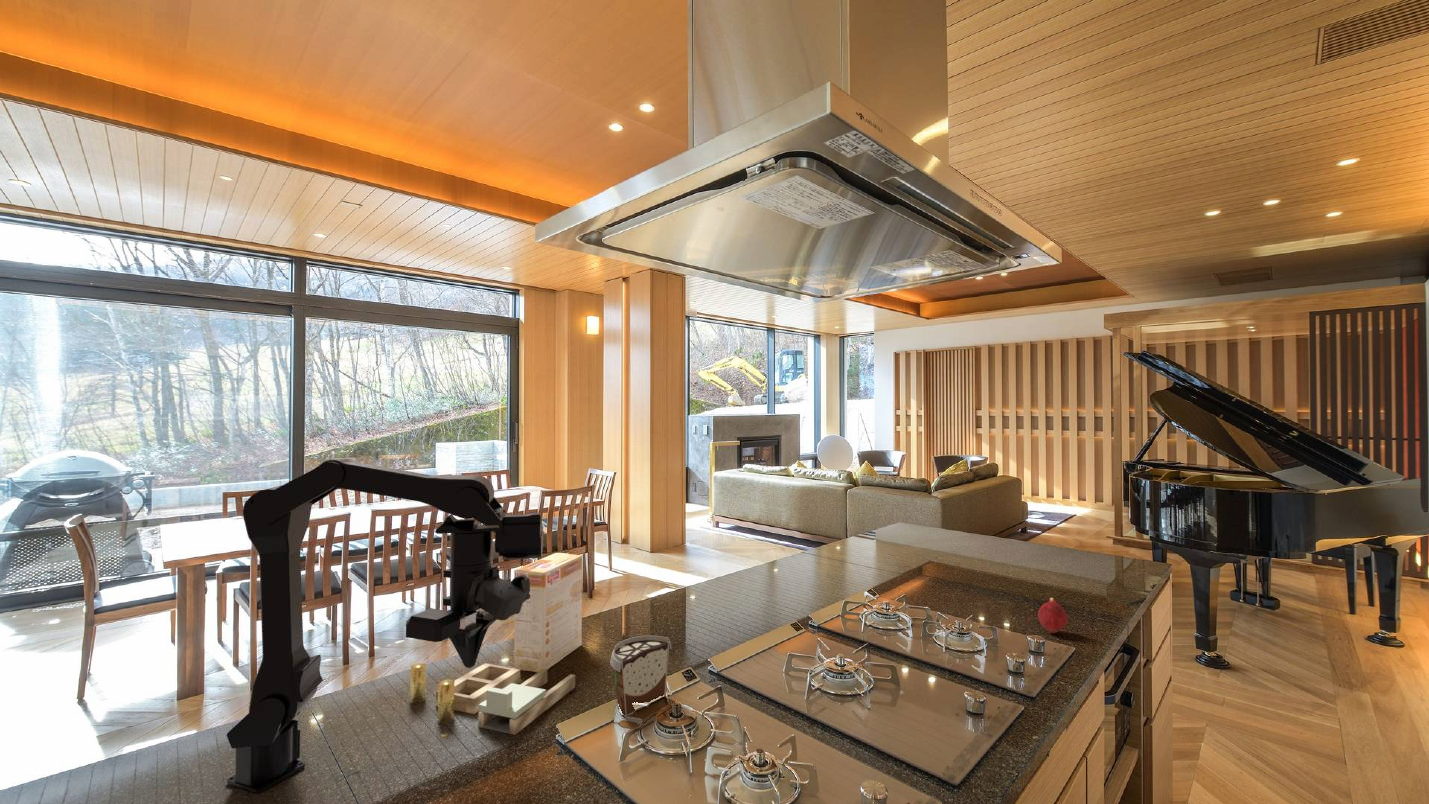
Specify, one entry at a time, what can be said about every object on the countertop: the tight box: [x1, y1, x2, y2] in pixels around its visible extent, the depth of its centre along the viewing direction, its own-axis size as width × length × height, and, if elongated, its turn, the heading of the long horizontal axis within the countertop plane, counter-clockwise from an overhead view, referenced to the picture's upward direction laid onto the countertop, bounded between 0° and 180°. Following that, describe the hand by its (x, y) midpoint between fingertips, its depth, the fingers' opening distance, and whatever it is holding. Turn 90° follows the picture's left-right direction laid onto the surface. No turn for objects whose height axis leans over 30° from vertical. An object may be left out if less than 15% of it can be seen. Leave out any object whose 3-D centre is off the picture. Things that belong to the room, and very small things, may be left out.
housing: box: [477, 670, 576, 736], centre depth 101 cm, size 17×7×2 cm, turn 161°
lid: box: [478, 683, 547, 719], centre depth 97 cm, size 8×7×4 cm
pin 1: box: [409, 662, 427, 705], centre depth 103 cm, size 2×2×6 cm
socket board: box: [435, 662, 521, 715], centre depth 105 cm, size 12×8×2 cm, turn 161°
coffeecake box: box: [513, 552, 583, 674], centre depth 122 cm, size 15×7×20 cm, turn 162°
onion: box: [1037, 597, 1068, 634], centre depth 136 cm, size 6×6×8 cm
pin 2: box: [437, 679, 455, 725], centre depth 96 cm, size 2×2×6 cm
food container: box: [609, 635, 672, 716], centre depth 103 cm, size 12×6×10 cm, turn 141°
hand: (469, 666), depth 88 cm, fingers closed
